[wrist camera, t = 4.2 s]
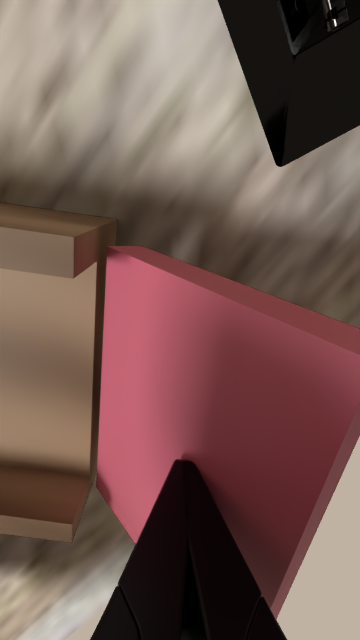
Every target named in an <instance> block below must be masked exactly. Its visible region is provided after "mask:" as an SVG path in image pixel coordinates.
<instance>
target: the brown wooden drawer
mask: <svg viewBox="0 0 360 640" xmlns="http://www.w3.org/2000/svg"><path fill="white" fill-rule="evenodd" d="M116 234H117V219H110V218H103V217H96V216H90V215H83V214H76V213H69V212H62V211H55V210H48V209H41V208H34V207H28V206H21V205H14V204H7V203H0V533H1V534H9V535H16V536H24V537H31V538H39V539H46V540H54V541H61V542H69V543H72V541H73V538H74V536H75V533H76V530H77V527H78V524H79V521H80V518H81V515H82V512H83V510H84V507H85V504H86V501H87V498H88V495H89V492H90V489H91V486H92V484H93V481H94V478H95V475H96V472H97V459H98V438H99V416H100V395H101V373H102V352H103V330H104V308H105V287H106V265H107V246H116Z"/></svg>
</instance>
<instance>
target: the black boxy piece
mask: <svg viewBox="0 0 360 640" xmlns="http://www.w3.org/2000/svg"><path fill="white" fill-rule="evenodd" d="M218 2H219V5H220V8H221V11H222V14H223V17H224V19H225V22H226V25H227V28H228V31H229V33H230V36H231V39H232V42H233V45H234V48H235V50H236V53H237V56H238V59H239V62H240V65H241V67H242V70H243V73H244V76H245V79H246V81H247V84H248V87H249V90H250V93H251V96H252V98H253V101H254V104H255V107H256V110H257V112H258V115H259V118H260V121H261V124H262V127H263V129H264V132H265V135H266V138H267V141H268V143H269V146H270V149H271V152H272V155H273V158H274V160H275V163H276V165H277V166H279V167H282V166H284V165H286V164H288V163H290V162H292V161H294V160H296V159H298V158H299V157H301V156H303V155H305V154H307V153H309V152H311V151H312V150H314V149H316V148H318V147H320V146H322V145H324V144H325V143H327V142H329V141H331V140H333V139H335V138H337V137H339V136H340V135H342V134H344V133H346V132H348V131H350V130H352V129H353V128H355V127H357V126H359V125H360V0H218Z"/></svg>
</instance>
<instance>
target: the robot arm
mask: <svg viewBox="0 0 360 640" xmlns="http://www.w3.org/2000/svg"><path fill="white" fill-rule="evenodd" d="M261 596H262V592H261V590H260V588H259V586H258V584H257V582H256V580H255V578H254V576H253V575H252V573H251V571H250V569H249V567H248V565H247V563H246V561H245V559H244V557H243V555H242V553H241V551H240V549H239V547H238V546H237V544H236V542H235V540H234V538H233V536H232V534H231V532H230V530H229V528H228V526H227V524H226V522H225V520H224V518H223V517H222V515H221V513H220V511H219V509H218V507H217V505H216V503H215V501H214V499H213V497H212V495H211V493H210V491H209V489H208V488H207V486H206V484H205V482H204V480H203V478H202V476H201V474H200V472H199V470H198V468H197V466H196V465H195V464H194V463H193V462H192V461H190V460H182V459H176V460H175V461H174V462H173V464H172V466H171V469H170V471H169V473H168V475H167V477H166V480H165V482H164V484H163V486H162V488H161V490H160V493H159V495H158V497H157V499H156V501H155V503H154V506H153V508H152V510H151V512H150V514H149V516H148V519H147V521H146V523H145V525H144V527H143V529H142V532H141V534H140V536H139V538H138V540H137V542H136V545H135V547H134V549H133V551H132V553H131V556H130V558H129V560H128V562H127V564H126V566H125V569H124V571H123V573H122V575H121V577H120V579H119V582H118V586H116V588H115V590H114V592H113V594H112V596H111V598H110V601H109V603H108V605H107V607H106V609H105V611H104V613H103V615H102V617H101V619H100V621H99V623H98V625H97V627H96V629H95V631H94V633H93V635H92V637H91V639H90V640H287V639H286V637H285V635H284V633H283V631H282V630H281V628H280V626H279V624H278V623H277V620H276V619H275V617H274V615H273V613H272V611H271V609H270V607H269V605H268V603H267V601H266V599H265V598H264V597H263V596H262V597H261Z"/></svg>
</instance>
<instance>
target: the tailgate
mask: <svg viewBox="0 0 360 640" xmlns="http://www.w3.org/2000/svg"><path fill="white" fill-rule="evenodd" d="M359 436H360V329H359V328H356V327H354V326H351V325H348V324H346V323H343V322H341V321H338V320H335V319H333V318H330V317H327V316H325V315H322V314H319V313H317V312H314V311H312V310H309V309H306V308H304V307H301V306H298V305H296V304H293V303H291V302H288V301H285V300H283V299H280V298H277V297H275V296H272V295H269V294H267V293H264V292H262V291H259V290H256V289H254V288H251V287H248V286H246V285H243V284H240V283H238V282H235V281H233V280H230V279H227V278H225V277H222V276H219V275H217V274H214V273H211V272H209V271H206V270H204V269H201V268H198V267H196V266H193V265H190V264H188V263H185V262H182V261H180V260H177V259H175V258H172V257H169V256H167V255H164V254H161V253H159V252H156V251H153V250H151V249H148V248H146V247H143V246H107V265H106V287H105V308H104V330H103V352H102V373H101V395H100V416H99V438H98V459H97V481H96V487H97V489H98V490H99V492H100V493H101V494H102V496H103V497H104V499H105V500H106V502H107V503H108V505H109V506H110V508H111V509H112V511H113V512H114V514H115V515H116V516H117V518H118V519H119V521H120V522H121V524H122V525H123V527H124V528H125V530H126V531H127V533H128V534H129V535H130V537H131V538H132V540H133V541H134V543H135V544H136V542H137V540H138V538H139V536H140V534H141V532H142V529H143V527H144V525H145V523H146V521H147V519H148V516H149V514H150V512H151V510H152V508H153V506H154V503H155V501H156V499H157V497H158V495H159V493H160V490H161V488H162V486H163V484H164V482H165V480H166V477H167V475H168V473H169V471H170V469H171V466H172V464H173V462H174V461H175V460H176V459H182V460H190V461H192V462H193V463H194V464H195V465H196V466H197V468H198V470H199V472H200V474H201V476H202V478H203V480H204V482H205V484H206V486H207V488H208V489H209V491H210V493H211V495H212V497H213V499H214V501H215V503H216V505H217V507H218V509H219V511H220V513H221V515H222V517H223V518H224V520H225V522H226V524H227V526H228V528H229V530H230V532H231V534H232V536H233V538H234V540H235V542H236V544H237V546H238V547H239V549H240V551H241V553H242V555H243V557H244V559H245V561H246V563H247V565H248V567H249V569H250V571H251V573H252V575H253V576H254V578H255V580H256V582H257V584H258V586H259V588H260V590H261V592H262V596H263V597H264V598H265V599H266V601H267V603H268V605H269V607H270V609H271V611H272V613H273V615H274V617H275V619H277V617H278V614H279V612H280V610H281V608H282V605H283V603H284V601H285V599H286V597H287V595H288V592H289V590H290V588H291V586H292V583H293V581H294V579H295V577H296V575H297V572H298V570H299V568H300V566H301V564H302V561H303V559H304V557H305V555H306V552H307V550H308V548H309V546H310V544H311V542H312V539H313V537H314V535H315V533H316V531H317V528H318V526H319V524H320V521H321V520H322V517H323V515H324V513H325V511H326V509H327V506H328V504H329V502H330V500H331V497H332V495H333V493H334V491H335V489H336V486H337V484H338V482H339V480H340V478H341V475H342V473H343V471H344V469H345V467H346V464H347V462H348V460H349V458H350V456H351V453H352V451H353V449H354V447H355V445H356V442H357V440H358V438H359ZM262 596H261V597H262Z"/></svg>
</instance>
